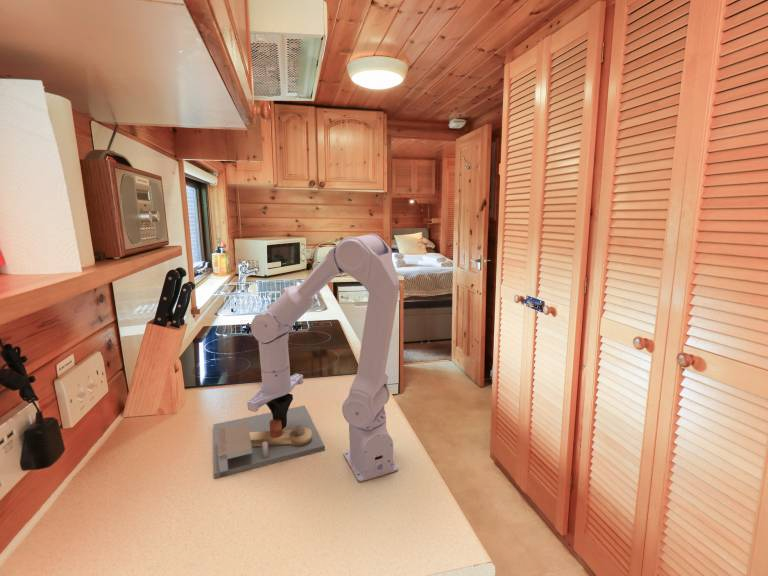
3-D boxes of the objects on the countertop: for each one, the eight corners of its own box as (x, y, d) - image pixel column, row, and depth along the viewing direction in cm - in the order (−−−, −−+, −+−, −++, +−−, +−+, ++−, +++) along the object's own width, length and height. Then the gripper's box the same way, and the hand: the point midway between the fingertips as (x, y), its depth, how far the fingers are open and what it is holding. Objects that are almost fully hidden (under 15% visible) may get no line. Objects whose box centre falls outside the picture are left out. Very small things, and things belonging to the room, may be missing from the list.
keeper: (253, 468, 76) (251, 448, 75) (220, 477, 73) (218, 456, 73) (249, 441, 85) (247, 423, 84) (219, 448, 82) (217, 429, 82)
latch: (313, 432, 85) (311, 413, 85) (310, 445, 81) (309, 425, 80) (241, 437, 84) (239, 417, 83) (234, 449, 80) (232, 429, 79)
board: (324, 450, 81) (323, 432, 80) (214, 478, 73) (212, 459, 72) (304, 409, 98) (303, 394, 98) (213, 428, 90) (211, 412, 89)
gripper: (284, 353, 89) (288, 408, 92) (233, 377, 77) (240, 440, 79) (309, 357, 86) (312, 414, 89) (260, 383, 74) (266, 449, 76)
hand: (280, 427), depth 84 cm, fingers closed, pressing on latch
